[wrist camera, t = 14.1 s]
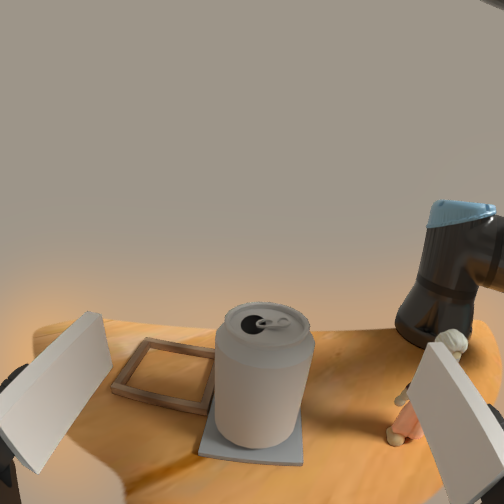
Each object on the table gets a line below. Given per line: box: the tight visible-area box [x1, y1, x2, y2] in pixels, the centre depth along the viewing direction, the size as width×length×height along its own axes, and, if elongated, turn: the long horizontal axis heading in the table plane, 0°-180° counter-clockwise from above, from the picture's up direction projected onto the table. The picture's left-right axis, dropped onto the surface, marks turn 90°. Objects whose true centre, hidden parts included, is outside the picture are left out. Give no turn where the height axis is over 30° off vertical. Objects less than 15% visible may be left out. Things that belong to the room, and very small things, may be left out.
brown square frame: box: [111, 337, 215, 416], centre depth 31 cm, size 11×11×1 cm
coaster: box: [198, 393, 303, 466], centre depth 24 cm, size 9×9×1 cm
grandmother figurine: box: [386, 329, 468, 446], centre depth 21 cm, size 8×4×13 cm, turn 110°
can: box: [215, 302, 315, 449], centre depth 22 cm, size 8×8×12 cm
